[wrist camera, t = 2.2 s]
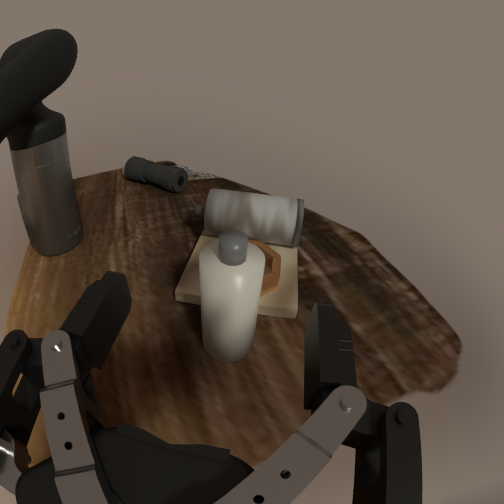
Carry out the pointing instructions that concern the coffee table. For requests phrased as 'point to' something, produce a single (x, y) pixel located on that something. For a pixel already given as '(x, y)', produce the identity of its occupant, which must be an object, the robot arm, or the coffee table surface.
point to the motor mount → (261, 235)
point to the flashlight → (155, 174)
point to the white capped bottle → (230, 295)
